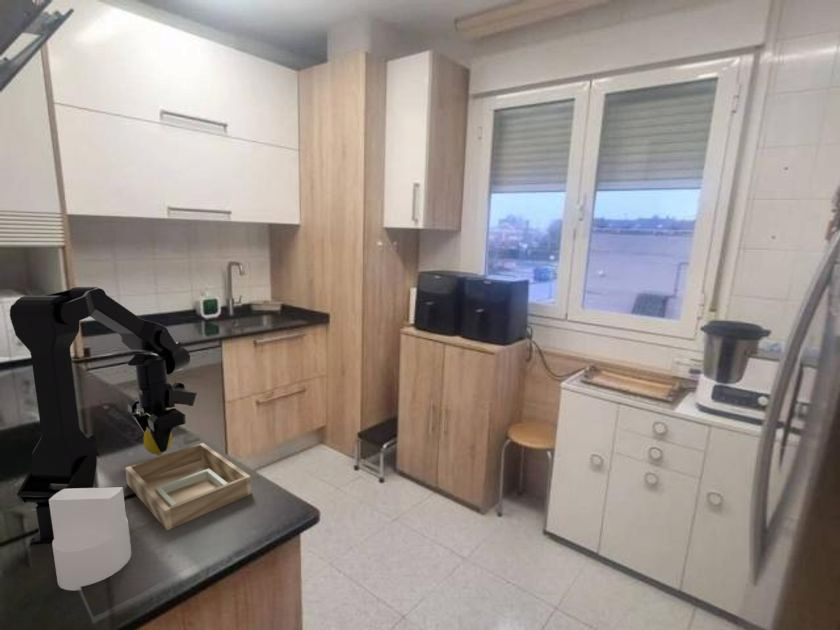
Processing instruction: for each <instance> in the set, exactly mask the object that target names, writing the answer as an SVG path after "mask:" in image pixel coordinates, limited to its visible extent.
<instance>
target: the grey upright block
mask: <svg viewBox="0 0 840 630" xmlns="http://www.w3.org/2000/svg"><path fill="white" fill-rule="evenodd" d="M49 506H50V513H51V520H52V527H53V534H54V540H53V541H51V542H52V543H51V545H52V551H53V558H54V559H53V560H54V565H55V566H54V567H55V573H56V581H57V584H58V586H59V588H60V589H63V590H66V591H82V590H83V589H82V587H85V586H89V585H93V584H95V583H99V582H101V581H103V580H106V579H107V578H109V577H110V576H113V575H114V574H115V573H117V572H119V571H121V570H122V569H123V568H124V566H125V565H127V564H128V562H129V561H130V560H131V557H132V546H131V536H130V528H129V520H128V517H127V513H126V506H125V495H124V488H123V487H122V486H121V487H120V486H118V487H116V486H114V487H111V486H110V487H93V488H72V489H63V490H61V491H59V492H58V493H56V494H55V495H53V496H52V497H51V498H50V499H49Z"/></svg>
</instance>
